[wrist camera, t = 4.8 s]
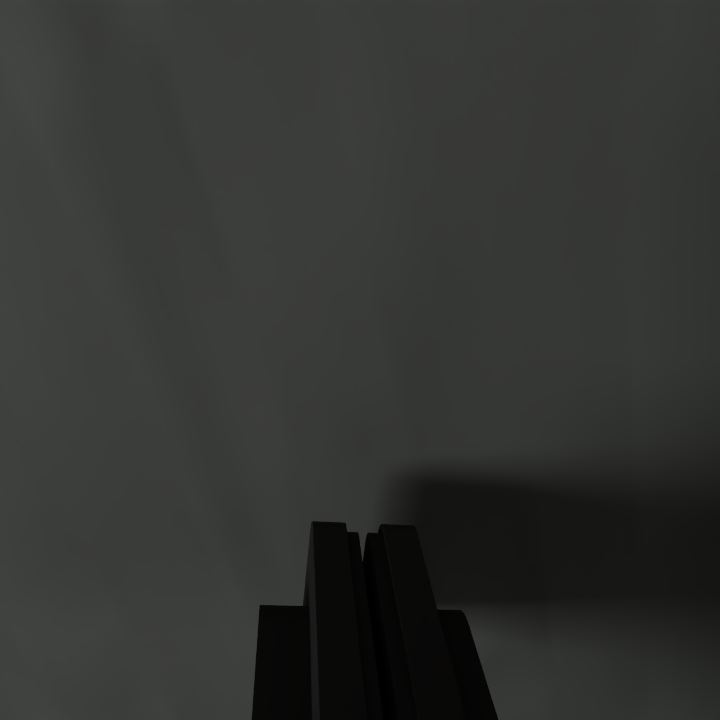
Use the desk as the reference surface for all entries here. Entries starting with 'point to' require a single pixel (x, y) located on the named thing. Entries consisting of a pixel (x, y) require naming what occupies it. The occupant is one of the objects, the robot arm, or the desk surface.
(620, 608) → the desk surface
